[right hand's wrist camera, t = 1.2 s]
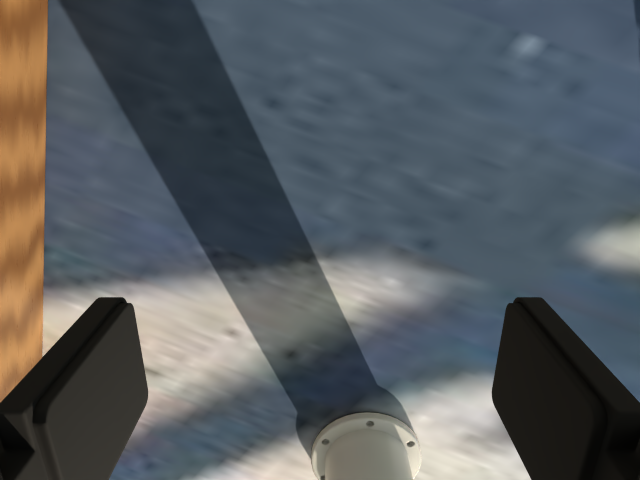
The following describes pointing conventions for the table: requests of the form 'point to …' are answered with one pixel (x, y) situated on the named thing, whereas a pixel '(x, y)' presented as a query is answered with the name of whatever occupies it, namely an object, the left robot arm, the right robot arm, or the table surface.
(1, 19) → the beam
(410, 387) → the table surface
